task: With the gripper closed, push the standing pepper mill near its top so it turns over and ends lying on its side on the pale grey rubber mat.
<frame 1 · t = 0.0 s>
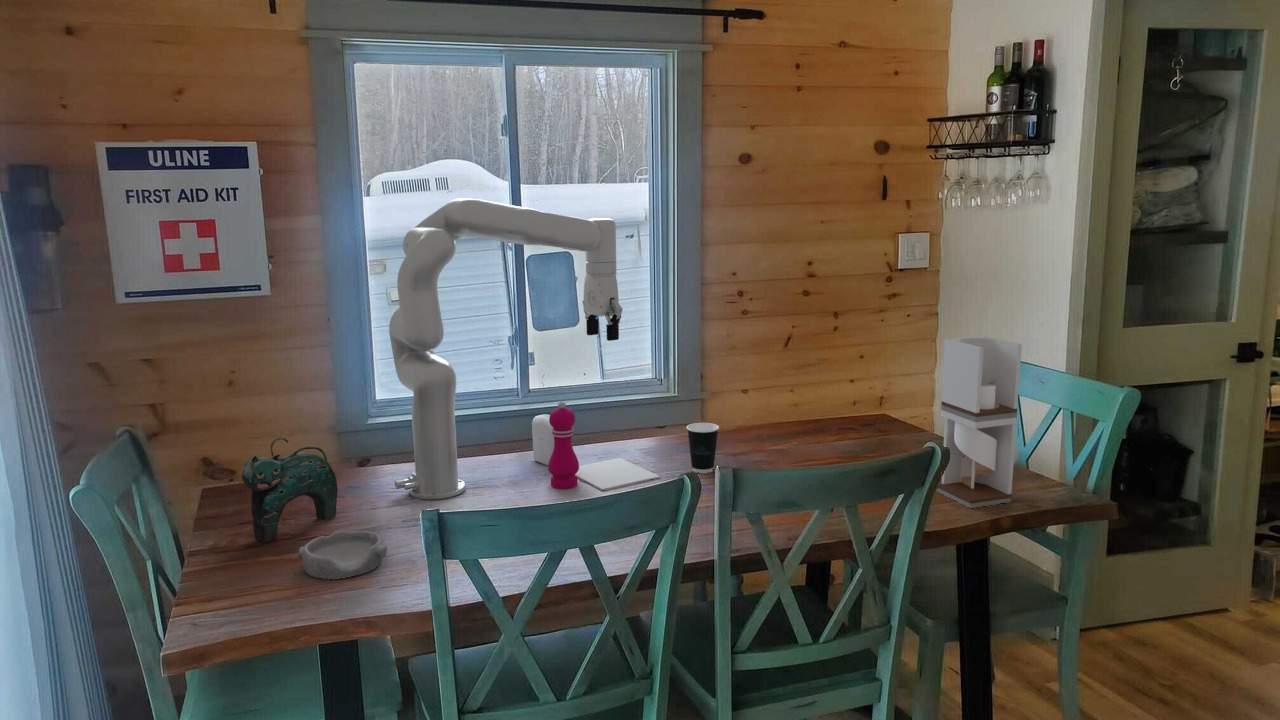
hand: (602, 337, 230), 31 cm above the table, tool pointing down, fingers open, 9 cm apart
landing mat: (611, 474, 222), on the table
dixie cup: (702, 471, 225), on the table
dish: (343, 567, 172), on the table
photo printer: (549, 463, 232), on the table
pepper mill: (564, 485, 215), on the table
ceramic cat: (294, 529, 190), on the table
architectural model tower: (972, 498, 204), on the table
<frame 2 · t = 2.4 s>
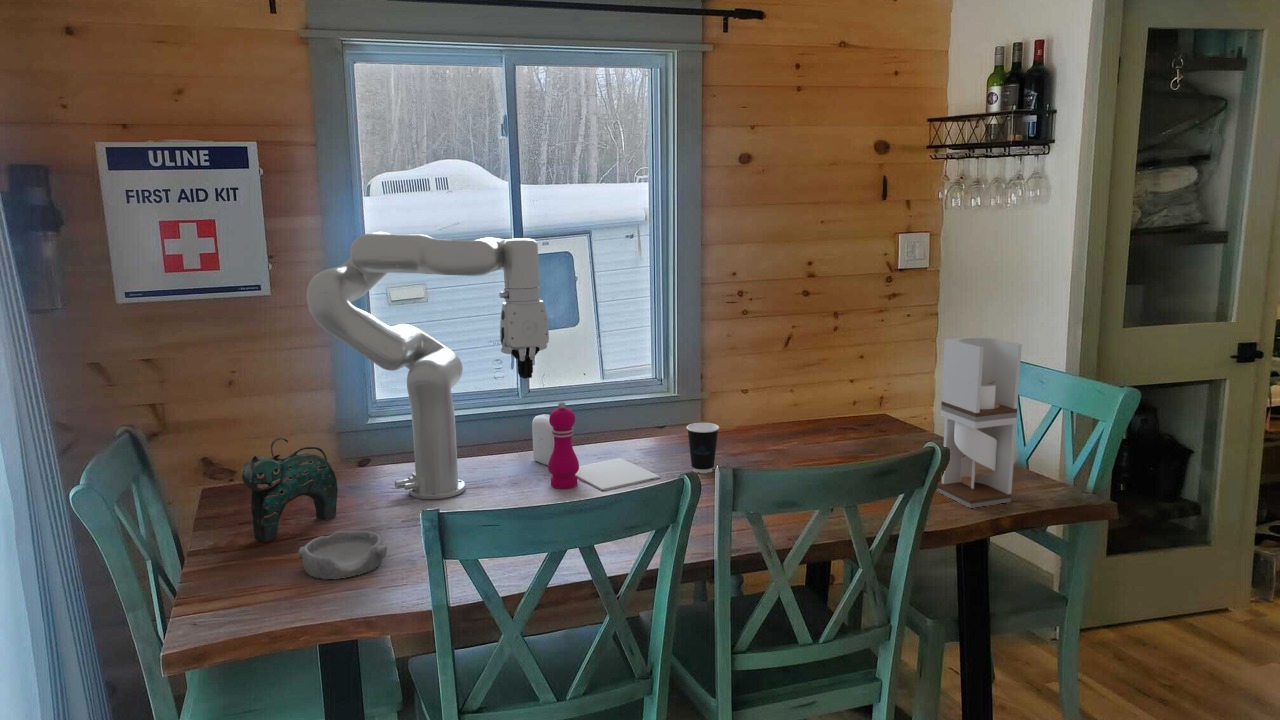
hand: (525, 377, 205), 27 cm above the table, tool pointing down, fingers closed
nothing on the table moved.
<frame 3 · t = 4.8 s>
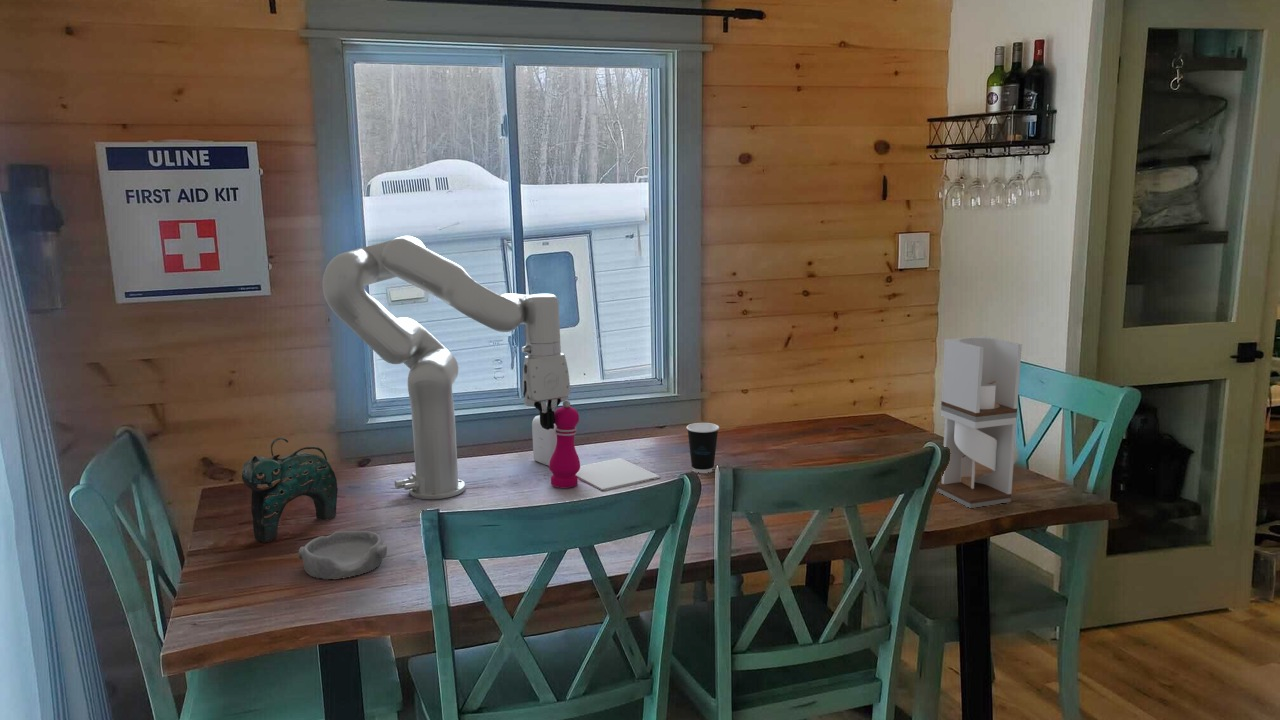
hand: (547, 427, 210), 14 cm above the table, tool pointing down, fingers closed
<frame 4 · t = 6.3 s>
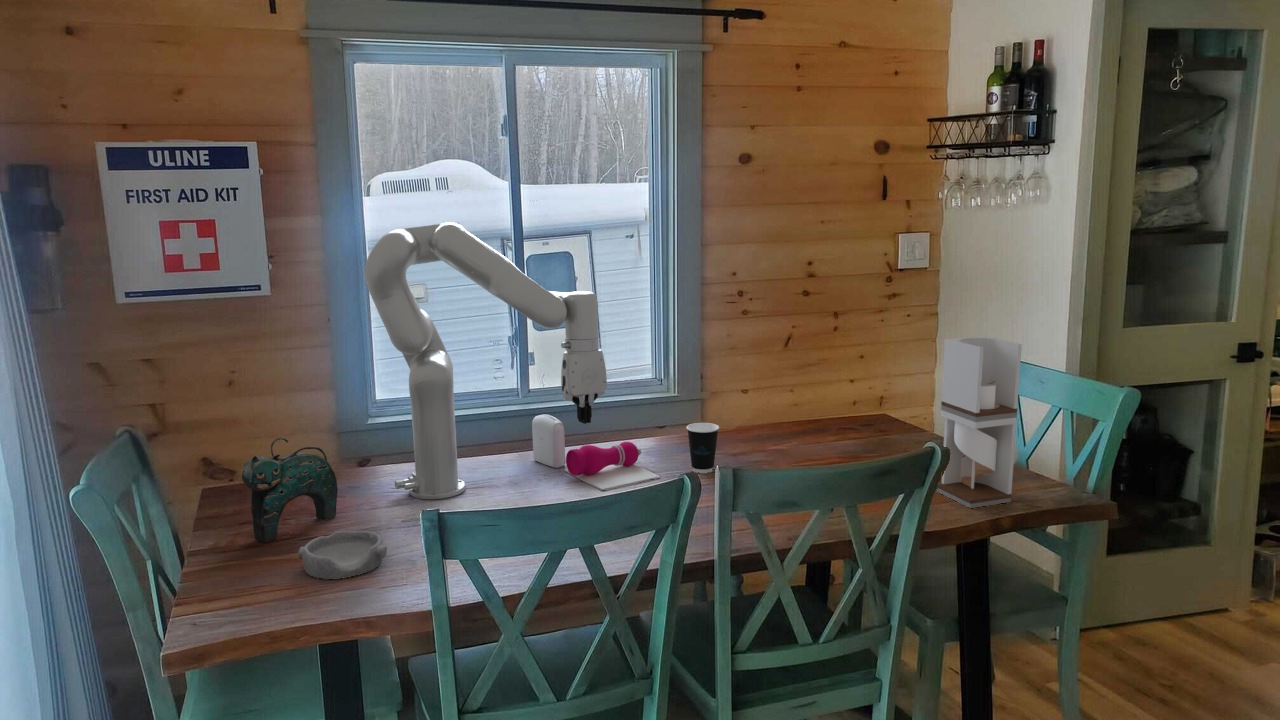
hand: (584, 421, 216), 14 cm above the table, tool pointing down, fingers closed
pepper mill: (571, 462, 218), point 4 cm above the table, touching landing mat
everything else where it was.
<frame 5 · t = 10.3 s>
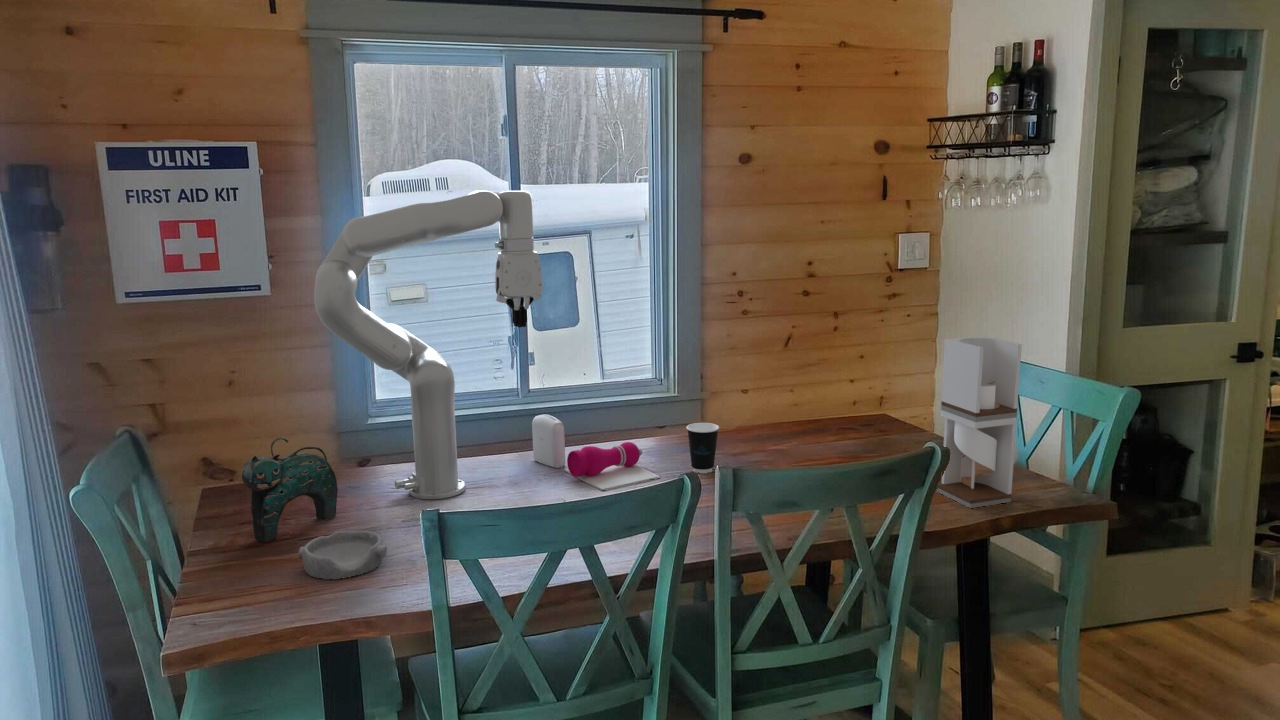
hand: (519, 326, 212), 37 cm above the table, tool pointing down, fingers closed
at the end: pepper mill tilted 92°; pepper mill inside the target area (7.9 cm from its centre), point 4.1 cm above the table; the gripper is holding nothing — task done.
